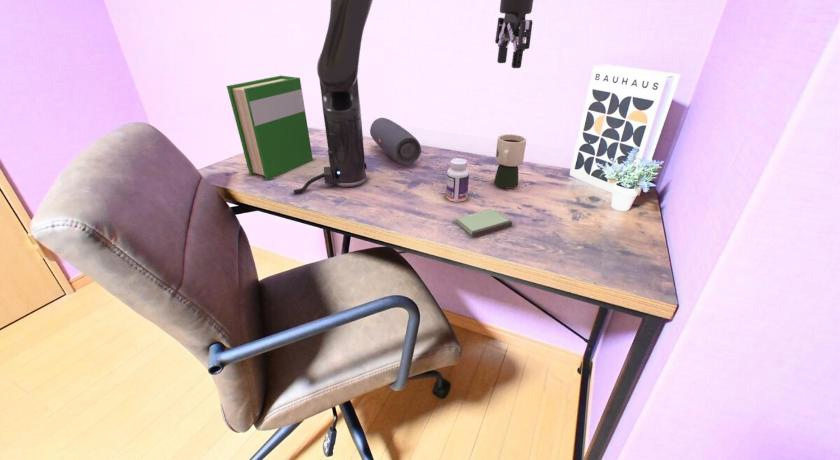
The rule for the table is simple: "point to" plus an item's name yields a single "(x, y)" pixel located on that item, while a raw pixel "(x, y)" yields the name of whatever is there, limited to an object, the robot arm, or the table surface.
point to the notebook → (483, 222)
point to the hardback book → (271, 124)
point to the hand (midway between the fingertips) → (508, 65)
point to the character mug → (509, 159)
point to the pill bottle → (457, 180)
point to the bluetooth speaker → (395, 141)
